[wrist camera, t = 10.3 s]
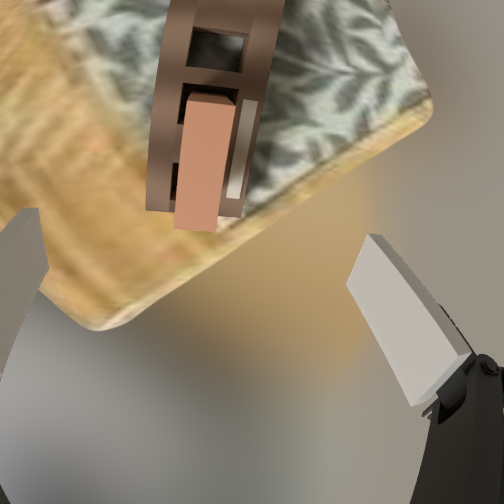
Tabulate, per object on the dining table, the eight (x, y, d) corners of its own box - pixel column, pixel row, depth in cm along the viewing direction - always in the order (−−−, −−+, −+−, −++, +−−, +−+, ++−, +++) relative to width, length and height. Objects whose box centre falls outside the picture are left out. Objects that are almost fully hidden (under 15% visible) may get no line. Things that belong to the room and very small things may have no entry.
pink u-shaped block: (192, 90, 25) (187, 100, 17) (224, 94, 25) (235, 106, 17) (180, 179, 29) (173, 228, 21) (210, 182, 30) (215, 232, 22)
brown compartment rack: (187, -44, 17) (185, -57, 14) (283, -29, 19) (295, -40, 16) (150, 195, 30) (145, 211, 27) (236, 202, 32) (241, 218, 29)
